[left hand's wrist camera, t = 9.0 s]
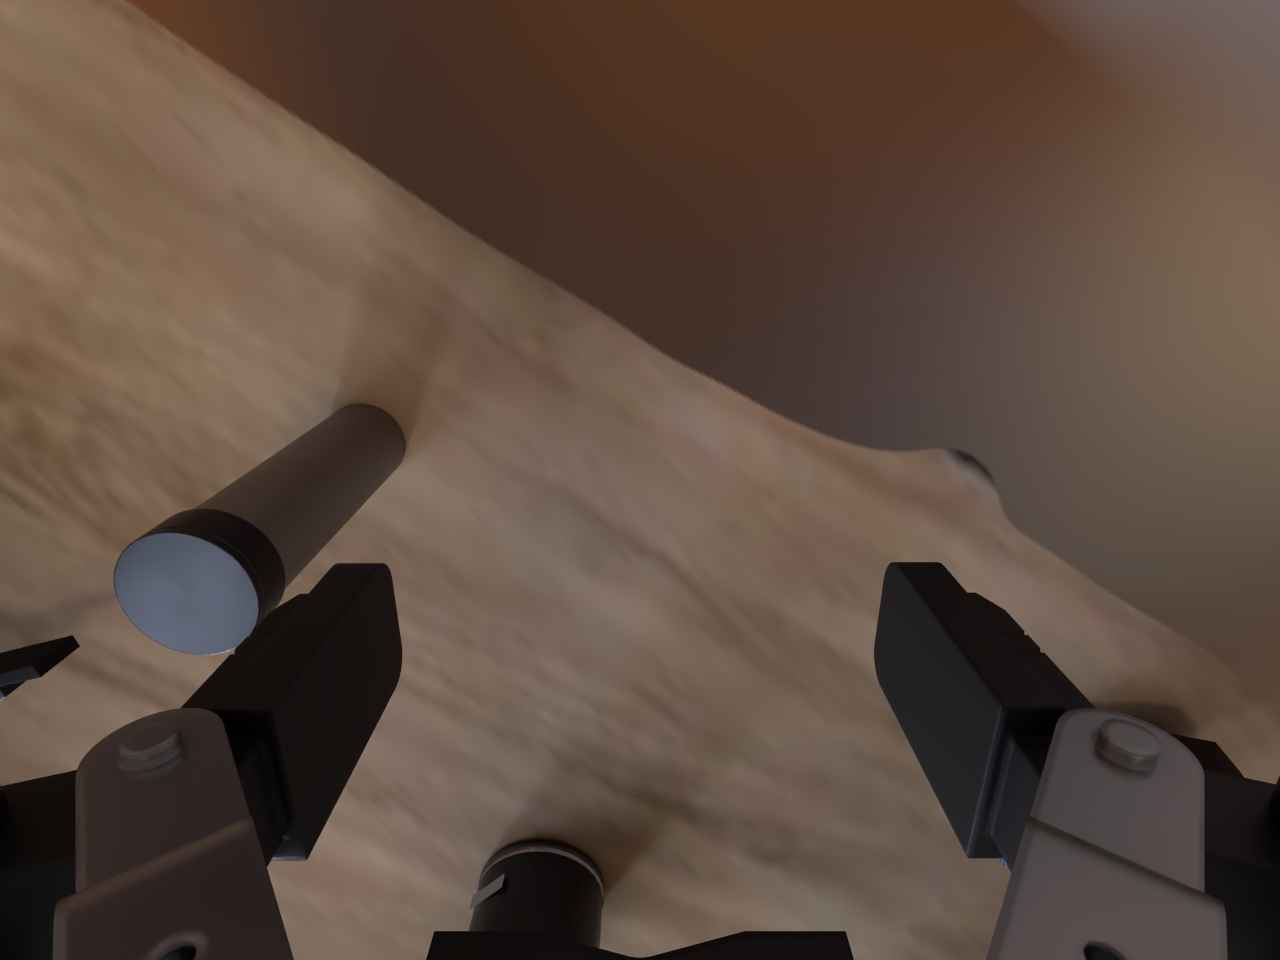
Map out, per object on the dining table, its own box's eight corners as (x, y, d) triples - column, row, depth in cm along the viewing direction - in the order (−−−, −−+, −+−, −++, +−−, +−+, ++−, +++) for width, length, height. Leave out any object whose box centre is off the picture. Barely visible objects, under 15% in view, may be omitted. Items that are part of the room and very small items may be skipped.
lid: (150, 494, 25) (111, 517, 23) (290, 525, 25) (263, 550, 23) (151, 609, 27) (114, 639, 25) (282, 636, 27) (256, 668, 25)
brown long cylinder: (329, 395, 39) (127, 519, 23) (410, 414, 39) (262, 548, 24) (322, 468, 40) (129, 628, 25) (400, 485, 41) (256, 654, 25)
